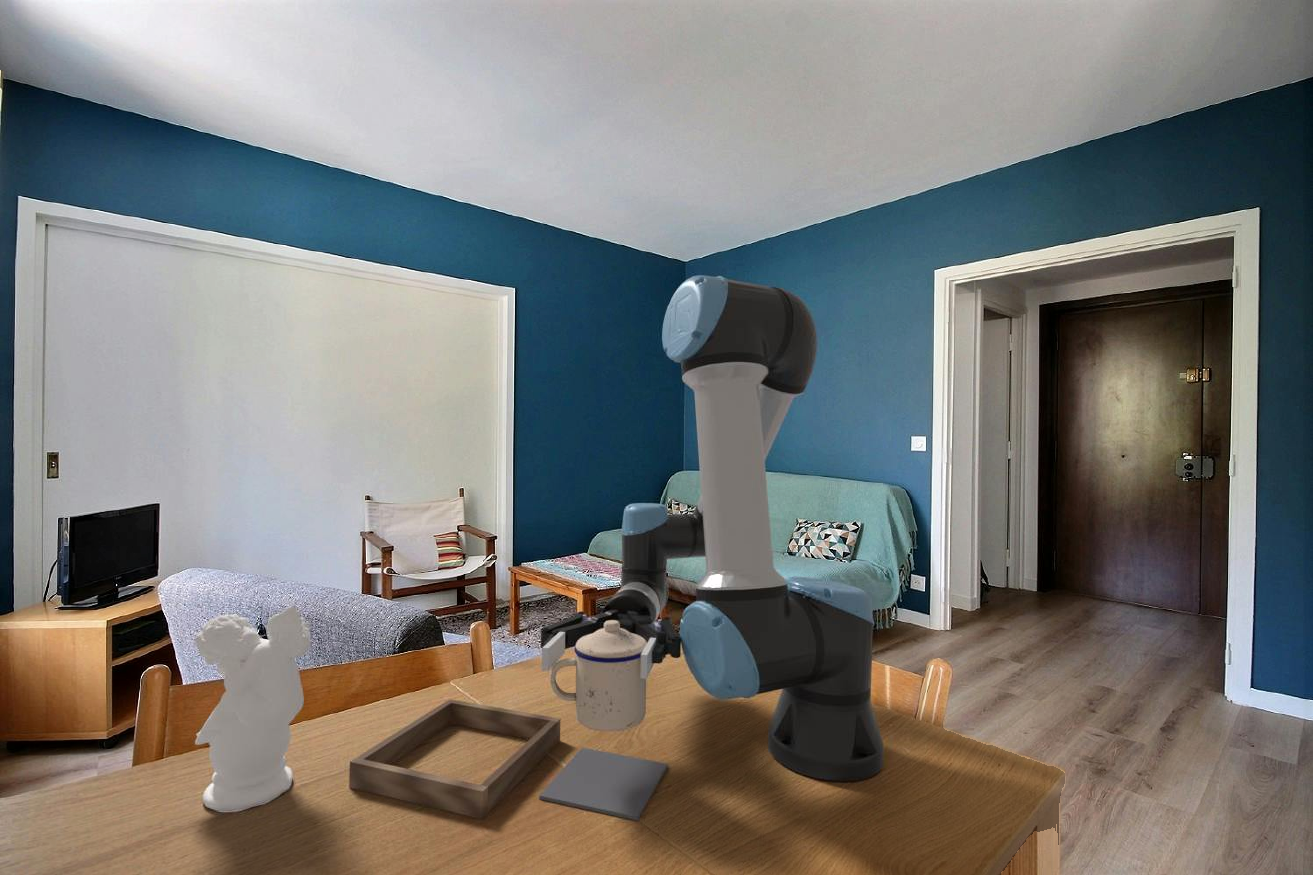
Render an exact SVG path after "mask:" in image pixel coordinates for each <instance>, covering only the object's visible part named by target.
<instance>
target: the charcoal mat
mask: <svg viewBox="0 0 1313 875" xmlns="http://www.w3.org/2000/svg"><path fill="white" fill-rule="evenodd" d="M668 766H669V763H667V762H661V761H655V760H650V759H645V758H639V757H635V756H630V755H629V756H628V755H624V754H618V753H614V752H608V751H602V750H597V749H592V748H587V747H581V748H580V749H579V750H578V751H577V752H576V754H575V755H574V756H573V757H572V758H571V759H570V760H569V761H568V763H567V764H566V765H565V766H564V767H563V768H562V769H561V771H560V772H559V773H558V774H557V775H556V776H555V777H554V778H553V779H552V780H551V781H550V783H549V784H548V785H547V786H546V787H545V788H544V789H543V791H541V793H540V794H539V795H538V799H539V800H543V801H547V802H551V803H555V804H561V805H565V806H570V807H574V808H578V809H583V810H588V811H592V812H595V813H600V814H606V815H610V816H615V817H620V818H622V819H629V820H633V821H638V820H639V818H640V816H641V814H642V813H643V811H644V809H645V808H646V806H647V804H648V803H649V802H650V801H649V800H650V799H651V797H652V796H653V794H654V792H655V790H656V788H657V786H658V785H659V783H660V781H661V780H662V778H663V776H664V775H665V772H666V771H667V769H668Z"/></svg>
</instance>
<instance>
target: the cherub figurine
mask: <svg viewBox="0 0 1313 875" xmlns="http://www.w3.org/2000/svg"><path fill="white" fill-rule="evenodd" d="M300 616H301V611H300V610H297V605H296V603H294V604H292V605H291V606H288V607H287V608H286V609H284V610H283V611H281V612H280V613H277V614H274V615H273V616H271V617H270V618H269V619H268V620H267V623H266V624H267V625H266V632H267V634H264V635H259V634H258V632H257V631H256V629H255V628H254V626H253V625H252V624H251V623H249V621H250V619H249V618H248V617H241V616H238V614H237V613H234V614H233V613H232V614H228V613H226V614H219V615H217V616H216V617H215V618H214V617H213V618H211V619H210V620H209V621H207V622H206V623H205V624H204V625H202V626H201V629H200V631H199V632H198V634H196V635H195V638H194V644H195V645H196V647H197V650H198V653H199V656H200V657H202V658H204V661H205V663H206V664H207V665H215V664H217V668H216V670H217V673H218V674H219V675H220V676H222V677H224V678H223V685H224V689H225V692H223V694H222V696H221V698H220V700H219V702H218V704H217V705H216V706H215V707H214V709H213V711H212V712H211V714H210V716H209V717H208V718H207V720H206V721H205V723H204V724H203V726H202V728H201V729H200V731H199V732H197V733H196V734H195V736H196V739H195V741H194V745H195V746H196V745H199V746H200V745H203V744H206V743H208V745H209V751H208V753H209V754H208V757H209V761H210V764H211V766H212V769H213V770H214V772H213V774H212V777H211V782H212V783H210V784H209V785H208V786H207V787H206V789H205V790H204V792H203V794H202V801H203V803H204V806H205V807H207V808H208V809H211V810H214V811H216V812H219V813H238V812H241V811H244V810H248V809H250V808H253V807H258V806H262V805H267V804H268V803H271V801H273V800H275V799H277V798H278V797H279V796H280V795H282V794H283V793H285V792H286V791H287V790H289V789H290V787H291V785H292V783H293V778H294V773H293V770H292V768H290V767H289V766H287V759H286V757H285V754H286V752H288V751H287V750H288V749H289V746H290V741H291V727H290V723H292V722H293V720H294V719H295V717H296V716H297V715H298V713H300V712H301V710H302V708H303V706H304V701H305V700H304V698H305V696H304V691H303V686H302V682H301V677H300V670H299V665H298V662H297V661H296V658H301V657H302V656H305V655H306V654H308V652H309V651H311V649H312V646H311V645H312V641H311V640H312V639H311V633H310V631H311V628H309V627H310V623H309V621H307V619H306V618H305V617H300ZM306 621H307V622H306ZM264 636H267V637H268V639H265V638H263V637H264Z"/></svg>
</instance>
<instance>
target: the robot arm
mask: <svg viewBox="0 0 1313 875" xmlns="http://www.w3.org/2000/svg"><path fill="white" fill-rule="evenodd" d="M661 335H662V336H661V341H662V348H663V351H664V352H665V353H666V356H667V357H668V358H669V359H670V360H671V361H674V363H679V364H680V365H681V367H680V368H681V376H682V377H681V380H682V382H683V383H684V384H686V386H688V387H689V388H690V389H691V390H693V393H694V405H695V406H694V407H695V419H696V435H697V436H696V437H697V452H698V462H699V466H698V467H699V478H700V481H699V482H700V493H701V495H700V498H699V499H698V502H697V504H696V507H695V509H694V510H693V513H685V514H683V513H680V514H679V513H677V514H670V513H669V510H668V507H667V506H666V505H665V504H663V503H655V502H654V503H653V502H651V503H649V502H647V503H646V502H641V503H639V502H637V503H636V502H635V503H629V504H628V505H626V506H625V508H624V510H623V515H622V516H623V517H622V524H621V570H620V571H621V572H620V573H621V574H620V589H618V591H617V592H616V593H615V594H613V595H612V597H611V598H610V599H609V600H608V601H607V602H606V604H605V606H604V607H603V609H602V611H601V613H599V614H597V615H594V616H592V617H588V616H587V614H586V612H585V611H582V610H581V611H578V612H576V613H575V614H574V615H573V616H569V617H567V618H565V619H562V620H559V621H556V622H553V623H551V624H548V625H546V626H544V627H541V628H540V648H541V671H542V672H549V671H551V669H552V667H553V666H554V665H555V664H556V663H557V662H558V661H560V660H561V658H562V657H563V656H564V655H565V654H566V649H570V648H573V647H574V648H575V646H576V643H577V641H578V640H579V639H580V638H582V637H583V636H586V635H588V634H592V633H594V632H596V631H597V630H599V629H602V628H604V623H605V622H606V621H608V620H616V621H618V622H619V623H620V628H622V629H625V630H627V631H628V632H630V633H633V634H636V635H639V636H641V637H643V638H644V639H645V640H646V642H647V644H646V646H645V648H644V650H643V652H642V653H641V675H640V678H644V679H646V680H647V679H648V676H649V675H650V673H651V671H652V669H653V667H654V665H655V664H658V665H659V664H662V663H663V661H664V659H665V658H667V655H670V657H671V658H673V659H678V658H681V657H682V656H681V655H682V654H683V656H684V660H685V663H686V665H687V667H688V669H689V671H690V673H691V674H692V676H693V678H694V679H695V681H696V682H697V684H698V685H699V687H701V689H702V690H704V691H705V692H706V693H707V694H709V695H710V696H712V697H714V698H716V699H719V700H732V699H739V698H743V699H751V698H752V697H753V698H754V697H756V695H760V694H761V695H762V694H765V693H770V692H775V691H779V690H781V693H780V694H779V698H778V700H777V703H776V707H775V709H774V712H773V715H772V717H771V720H770V723H769V726H768V730H767V732H768V733H767V737H768V738H767V747H768V750H769V753H770V755H771V756H772V757H773V758H774V760H776V761H777V762H778V763H780V764H781V765H783V767H786V768H787V769H790V770H792V771H794V772H795V773H798V774H801V775H804V776H806V777H807V776H808V777H810V778H814V779H819V780H824V781H830V782H831V781H832V782H857V781H861V780H865V779H868V778H869V779H870V778H871V777H874V776H875V775H877V774H878V773H879V772H880V771H881V770H882V769H883V766H884V742H883V739H882V736H881V732H880V729H879V726H878V725H879V724H878V722H877V719H876V715H875V712H874V708H873V706H872V700H871V698H872V697H871V694H872V672H873V671H872V668H873V666H872V663H873V662H872V661H873V639H874V638H873V635H874V625H875V621H874V619H873V617H874V616H873V601H872V598H871V596H870V595H869V594H868V592H866V591H865V590H864V589H862V588H859V587H857V586H854V585H852V584H847V583H842V582H838V581H833V580H829V579H828V580H827V579H823V578H821V579H820V578H816V577H809V576H808V577H805V576H790V577H788V578H787V579H786V578H785V577H783V576H782V575H781V574H780V573H779V572H778V571H777V570H776V569H775V566H774V565H775V564H774V557H773V543H772V532H771V523H770V522H771V520H770V519H771V518H770V508H769V496H768V488H767V486H768V484H767V473H766V472H767V471H766V462H765V461H766V459H767V457H768V454H769V452H770V451H771V448H772V447H773V443H774V441H775V439H776V437H777V435H778V434H779V430H780V428H781V427H782V424H783V422H784V419H785V418H786V415H787V413H788V411H789V409H790V406H791V404H792V402H793V400H794V398H796V397H798V396H799V397H800V396H802V395H803V394H804V392H805V391H806V388H807V386H808V384H809V381H810V379H811V377H812V375H813V372H814V368H815V364H816V360H817V354H818V353H817V352H818V333H817V327H816V324H815V320H814V317H813V315H812V312H811V311H810V309H809V307H808V305H806V303H805V302H804V301H803V300H802V299H801V298H800V297H799V296H798V295H796V294H795V293H794V292H791V291H789V290H787V289H784V288H781V287H776V286H768V285H767V286H766V285H762V284H756V283H752V282H751V283H750V282H745V281H740V280H739V281H738V280H734V279H728V278H726V277H724V276H722V275H718V276H711V275H710V276H709V275H704V274H703V275H702V274H699V275H693V276H691V277H689V278H687V279H686V280H685V281H683V282H682V283H681V284H680V285H679V286H678V288H677V289H676V291H675V292H674V293H673V295H672V297H671V299H670V302H669V304H668V305H667V308H666V311H665V315H664V319H663V323H662V333H661ZM701 557H703V558H705V568H706V571H705V573H704V575H703V576H702V577H701V578H700V580H698V582H697V583H696V585H695V595H696V596H695V598H696V601H694V602H692V603H691V604H689V605H688V606H686V607H685V609H684V610H683V613H682V618H681V619H680V622H679V623H680V624H679V633H678V631H677V630H676V629H675V628H674V626H673V625H672V618H671V617H669V616H663V617H662V618H661V619H660V618H659V616H660V614H661V613H662V612H663V611H664V609H665V608H666V605H667V603H668V599H669V586H668V583H667V563H668V560H674V559H675V560H676V559H687V558H701ZM658 618H659V619H658ZM657 619H658V620H657ZM681 651H682V652H681ZM681 653H682V654H681Z"/></svg>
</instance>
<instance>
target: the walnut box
mask: <svg viewBox="0 0 1313 875" xmlns="http://www.w3.org/2000/svg"><path fill="white" fill-rule="evenodd" d="M450 725H456V726H461V727H466V728H471V729H477V730H483V731H487V732H494V733H499V734H503V735H509V736H515V737H519V738H523V739H524V738H525V739H529V740H528V741H526V743H525V744H523V745H522V746H520V748H519V749H518V750H517V751H516V752H515V753H513V754H512V755H511V756H510V757H509V758H508V759H507V760H505V762H504V763H502V764H501V765H500V766H499V767H498V768H497V769H496V770H495V771H494V772H493V773H492V774H490V775H489V776H488V777H487V778H486V779H484V781H483V782H482V783H481V784H477V783H473V782H469V781H464V780H459V779H455V778H452V777H451V778H450V777H446V776H443V775H442V776H440V775H437V774H432V773H427V772H425V771H424V772H423V771H419V770H414V769H410V768H409V769H408V768H405V767H400V766H396V765H393V764H395V762H396V763H397V761H399V760H400V759H401V758H403V757H404V756H406V755H408V754H409V753H410V752H412V751H413V750H414V749H416V748H418V747H419V746H420V745H422V744H423V743H425V742H426V741H428V740H429V739H430V738H431V737H432V738H433V736H435V735H436V734H438V733H439V732H440V731H442V730H444V729H445V728H446V727H448V726H450ZM560 741H561V718H560V717H552V716H548V715H543V714H536V713H531V712H526V711H525V712H524V711H520V710H519V711H518V710H513V709H509V708H508V709H506V708H503V707H495V706H491V705H485V704H481V703H479V704H478V703H473V702H467V701H461V700H457V699H451V698H449V699H447V700H446V701H445V702H443V703H440V705H438V706H436V707H435V708H433V709H432V710H429V711H428V712H427V713H425V714H424V715H422V716H420V717H419V718H417V719H416V720H414V721H413V722H411V723H409V724H408V725H405V727H403V728H402V729H400V730H398V731H396V732H395V733H393V734H391V735H390V736H389V737H387V738H385V739H384V740H382V741H381V742H379V743H377V744H376V745H374V746H372V747H371V748H369V749H368V750H367V751H365V752H363V753H362V754H360V755H358V756H356V757H355V758H353V759H352V760H350V761H349V777H348V778H349V780H348V788H351V789H355V790H359V791H362V792H366V793H371V794H376V795H378V796H379V795H380V796H383V797H388V798H393V799H396V800H401V801H406V802H410V803H412V804H418V805H422V806H425V807H430V808H434V809H439V810H442V811H447V812H451V813H455V814H459V815H463V816H468V817H471V818H476V819H480V820H483V818H485V817H486V816H487V815H488V814H489V813H490V812H491V811H492V810H493V809H494V808H495V807H496V806H497V804H498V803H500V801H502V800H503V799H504V797H505V796H507V795H508V793H510V792H511V790H512V789H513V788H514V787H516V785H517V784H519V782H520V781H521V780H522V779H524V778H525V777H526V776H527V774H528V773H529V772H530V771H532V769H533V768H535V766H536V765H537V764H538V763H539V762H540V761H541V760H543V758H544V757H545V756H546V755H547V754H548V753H549V752H550V751H551V750H552V749H553V748H554V747H555V746H556V745H557V744H558V743H559V742H560Z"/></svg>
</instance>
